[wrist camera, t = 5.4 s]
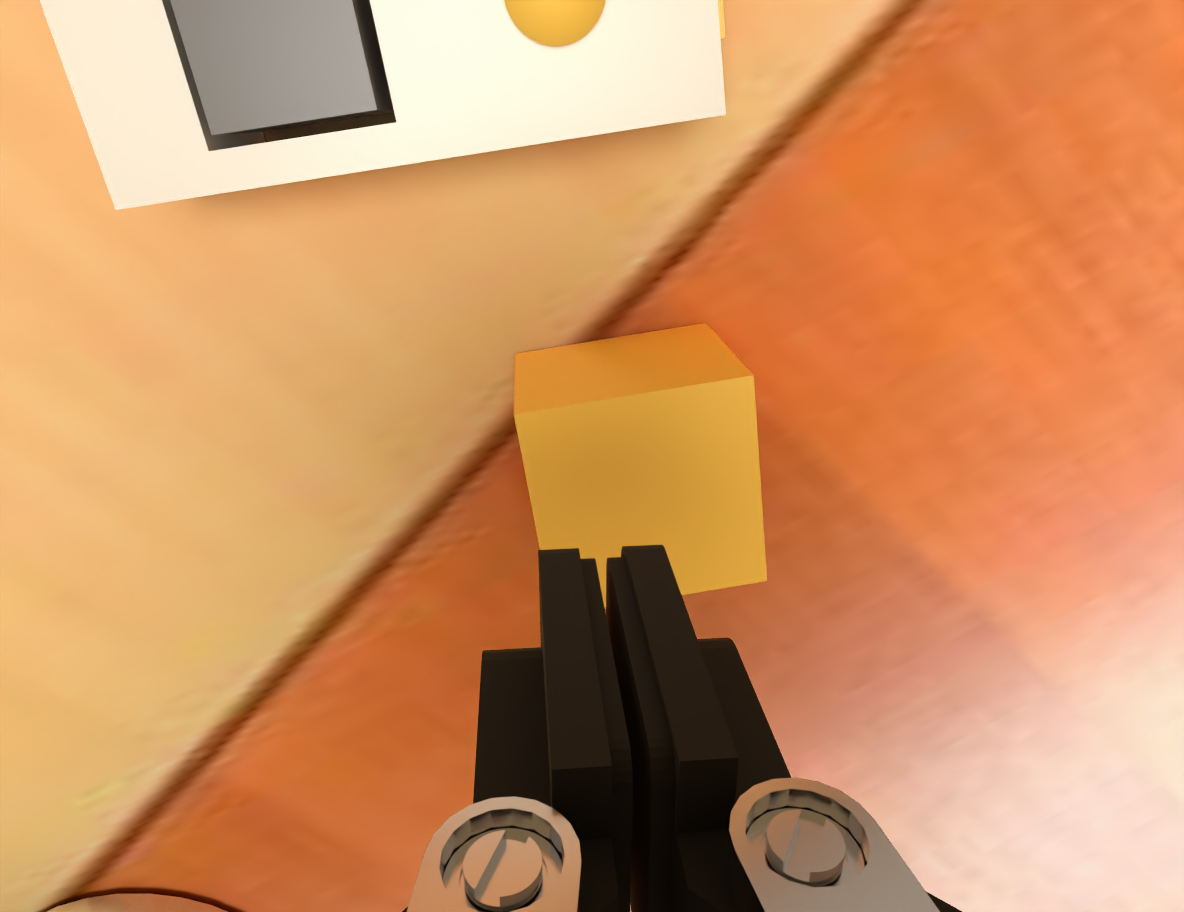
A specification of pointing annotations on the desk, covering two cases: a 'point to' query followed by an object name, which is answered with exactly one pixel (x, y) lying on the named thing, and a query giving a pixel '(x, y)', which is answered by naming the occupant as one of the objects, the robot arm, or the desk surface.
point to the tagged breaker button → (283, 62)
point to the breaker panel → (393, 87)
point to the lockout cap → (645, 453)
